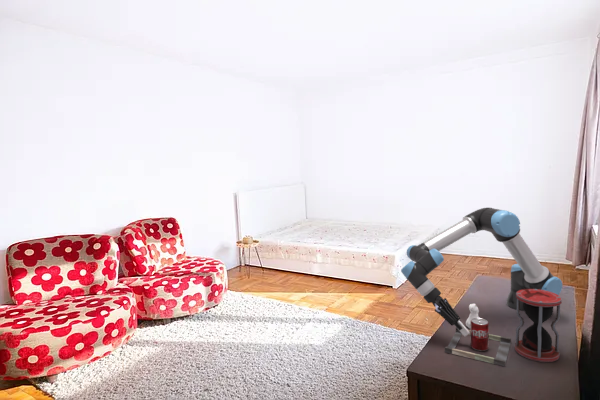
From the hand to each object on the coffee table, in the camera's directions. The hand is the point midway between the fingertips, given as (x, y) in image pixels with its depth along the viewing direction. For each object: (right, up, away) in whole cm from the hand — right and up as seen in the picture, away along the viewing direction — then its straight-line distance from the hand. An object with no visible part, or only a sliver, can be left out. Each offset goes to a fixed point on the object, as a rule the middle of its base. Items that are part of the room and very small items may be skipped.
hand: (467, 334), depth 172 cm
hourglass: (+26, -5, -8) cm, 27 cm away
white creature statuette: (+11, -3, +17) cm, 20 cm away
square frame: (+4, -5, -2) cm, 7 cm away
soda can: (+4, -5, -2) cm, 7 cm away
